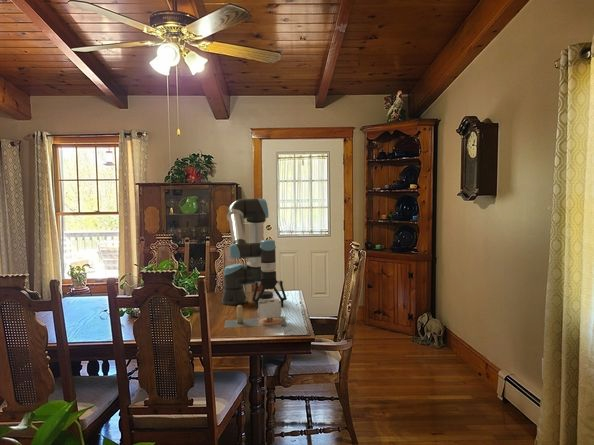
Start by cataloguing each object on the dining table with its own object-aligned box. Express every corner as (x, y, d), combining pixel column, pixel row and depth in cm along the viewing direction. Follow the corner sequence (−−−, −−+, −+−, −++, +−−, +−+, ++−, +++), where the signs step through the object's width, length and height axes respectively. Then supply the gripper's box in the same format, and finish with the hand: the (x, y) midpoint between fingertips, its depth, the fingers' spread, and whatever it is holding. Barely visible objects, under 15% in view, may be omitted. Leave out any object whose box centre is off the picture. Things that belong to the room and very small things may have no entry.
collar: (280, 317, 209) (280, 303, 209) (260, 318, 208) (259, 304, 208) (279, 312, 219) (278, 298, 219) (259, 313, 218) (259, 299, 218)
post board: (224, 329, 204) (223, 309, 204) (225, 321, 218) (225, 302, 218) (286, 326, 208) (285, 306, 207) (283, 318, 222) (283, 299, 221)
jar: (276, 315, 229) (275, 293, 228) (262, 317, 225) (261, 295, 225) (269, 311, 237) (269, 290, 236) (256, 313, 233) (255, 292, 233)
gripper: (245, 272, 208) (247, 317, 209) (291, 270, 210) (292, 315, 211) (246, 270, 215) (247, 313, 216) (290, 268, 218) (291, 311, 219)
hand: (269, 314), depth 214 cm, fingers closed on collar, 10 cm apart
